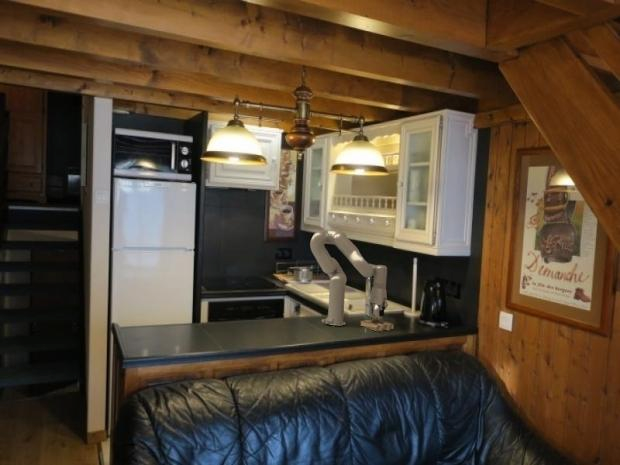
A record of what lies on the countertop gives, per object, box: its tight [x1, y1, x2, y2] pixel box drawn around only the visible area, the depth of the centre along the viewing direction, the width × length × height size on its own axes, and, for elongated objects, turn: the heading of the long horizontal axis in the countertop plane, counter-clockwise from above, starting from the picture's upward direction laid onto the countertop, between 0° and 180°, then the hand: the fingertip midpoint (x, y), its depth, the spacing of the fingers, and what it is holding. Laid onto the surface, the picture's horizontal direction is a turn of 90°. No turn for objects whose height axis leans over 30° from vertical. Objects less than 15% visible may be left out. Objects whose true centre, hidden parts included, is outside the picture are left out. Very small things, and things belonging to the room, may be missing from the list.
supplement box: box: [364, 296, 373, 317], centre depth 333 cm, size 7×7×13 cm
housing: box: [360, 319, 394, 332], centre depth 300 cm, size 14×14×4 cm
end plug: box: [371, 302, 384, 322], centre depth 300 cm, size 7×7×12 cm
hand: (377, 314), depth 300 cm, fingers closed on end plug, 6 cm apart
